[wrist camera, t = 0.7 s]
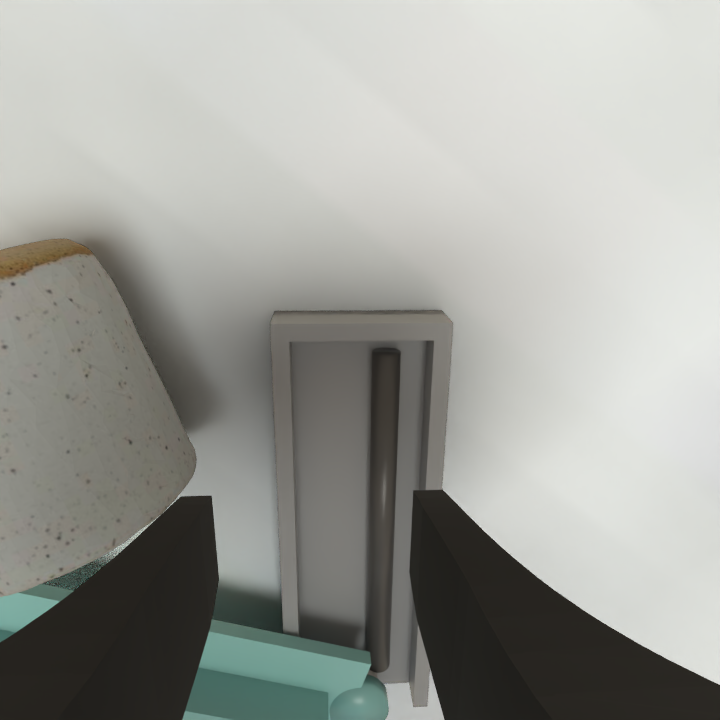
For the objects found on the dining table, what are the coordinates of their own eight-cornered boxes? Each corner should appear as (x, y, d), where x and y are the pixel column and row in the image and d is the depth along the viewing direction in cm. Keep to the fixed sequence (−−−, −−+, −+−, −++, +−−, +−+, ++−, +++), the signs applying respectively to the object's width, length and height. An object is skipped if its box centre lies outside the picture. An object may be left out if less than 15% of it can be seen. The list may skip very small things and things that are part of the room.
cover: (404, 658, 22) (414, 714, 20) (366, 740, 23) (371, 802, 21) (-18, 570, 19) (-64, 623, 17) (-33, 669, 21) (-77, 731, 18)
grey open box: (419, 670, 25) (427, 706, 23) (289, 676, 24) (286, 714, 23) (441, 310, 19) (453, 322, 18) (274, 311, 19) (269, 323, 17)
